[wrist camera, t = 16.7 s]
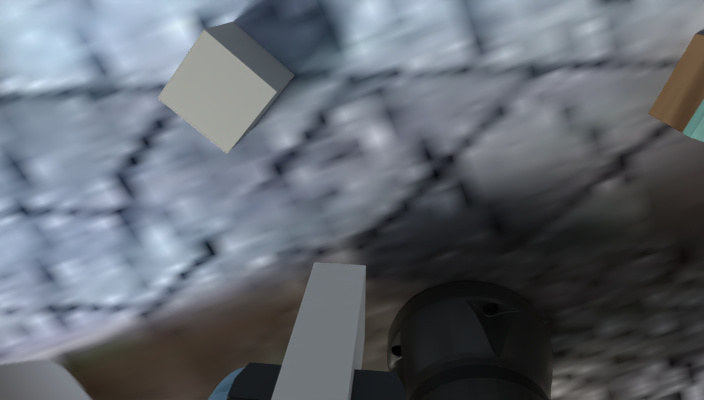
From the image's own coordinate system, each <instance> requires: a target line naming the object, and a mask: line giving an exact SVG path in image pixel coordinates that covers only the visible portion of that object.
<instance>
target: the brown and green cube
mask: <svg viewBox="0 0 704 400" xmlns="http://www.w3.org/2000/svg"><path fill="white" fill-rule="evenodd" d="M648 114H650V115H651V116H653V117H655V118H657V119H659V120H660V121H662V122H664V123H666V124H667V125H669V126H671V127H673V128H675V129H676V130H678V131H680V132H682V133H684V134H685V135H687V136H689V137H691V138H694V139H697V140H700V141H703V142H704V35H699V34H695V35H694V37H693V39H692V41H691V42H690V44H689V46H688V47H687V49H686V51H685V52H684V54H683V56H682V58H681V59H680V61H679V63H678V64H677V66H676V68H675V69H674V71H673V73H672V74H671V76H670V78H669V80H668V81H667V83H666V85H665V86H664V88H663V90H662V91H661V93H660V95H659V97H658V98H657V100H656V102H655V103H654V105H653V107H652V108H651V110H650V112H649V113H648Z"/></svg>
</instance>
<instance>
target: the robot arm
mask: <svg viewBox="0 0 704 400" xmlns="http://www.w3.org/2000/svg"><path fill="white" fill-rule="evenodd" d="M365 285H366V265H351V264H333V263H316V262H314V265H313V268H312V272H311V275H310V278H309V281H308V284H307V287H306V291H305V294H304V297H303V300H302V303H301V306H300V310H299V313H298V316H297V319H296V322H295V325H294V329H293V332H292V335H291V338H290V341H289V345H288V348H287V351H286V354H285V357H284V360H283V364H282V365H275V364H262V363H249V364H248V365H247V366H246V367H243V368H240V369H237V370H235V371H233V372H232V373H230V374H229V375H228V376H227V377H225V378H224V379H223V380H222V381H221V383H220V384H219V385H218V386H217V387H216V389H215V390H214V391H213V393H212V394H211V396H210V397H209V399H208V400H550V397H551V384H552V371H553V350H552V345H551V341H550V338H549V335H548V333H547V330H546V328H545V325H544V323H543V321H542V319H541V317H540V315H539V314H538V312H537V311H536V310H535V309H534V308H533V306H532V305H531V304H530V303H528V302H527V301H526V300H525V299H524V298H522V297H521V296H519V295H518V294H516V293H514V292H512V291H510V290H508V289H506V288H503V287H500V286H497V285H494V284H489V283H484V282H474V281H463V282H453V283H448V284H443V285H440V286H436V287H434V288H431V289H429V290H427V291H424V292H423V293H421V294H419V295H417V296H416V297H414V298H413V299H412V300H410V301H409V302H408V303H407V304H406V305H405V306H404V307H403V308H402V309H401V310H400V311H399V313H398V314H397V315H396V317H395V319H394V321H393V323H392V325H391V328H390V331H389V335H388V347H387V362H388V368H389V372H384V371H371V370H361V366H362V357H363V348H364V338H365Z"/></svg>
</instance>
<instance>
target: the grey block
mask: <svg viewBox="0 0 704 400" xmlns="http://www.w3.org/2000/svg"><path fill="white" fill-rule="evenodd" d="M294 76H295V75H294V74H293V73H292V72H290V71H289V70H288V69H287V68H286V67H285V66H284V65H282V64H281V63H280V62H279V61H278V60H277V59H276V58H274V57H273V56H272V55H271V54H270V53H269V52H268V51H266V50H265V49H264V48H263V47H262V46H261V45H260V44H258V43H257V42H256V41H255V40H254V39H253V38H252V37H250V36H249V35H248V34H247V33H246V32H245V31H243V30H242V29H241V28H240V27H239V26H238V25H237V24H235V23H234V22H230V23H226V24H222V25H219V26H215V27H211V28H208V29H204V30H203V32H202V33H201V35H200V36H199V38H198V39H197V40H196V42H195V43H194V45H193V46H192V48H191V49H190V51H189V52H188V54H187V55H186V57H185V58H184V60H183V61H182V63H181V64H180V65H179V67H178V68H177V70H176V71H175V73H174V74H173V76H172V77H171V79H170V80H169V82H168V83H167V85H166V86H165V88H164V89H163V91H162V92H161V93H160V95H159V96H158V99H159V100H160V101H162V102H163V103H164V104H165V105H167V106H168V107H169V108H170V109H172V110H173V111H174V112H175V113H177V114H178V115H179V116H180V117H182V118H183V119H184V120H185V121H187V122H188V123H189V124H190V125H192V126H193V127H194V128H195V129H197V130H198V131H199V132H200V133H202V134H203V135H204V136H205V137H207V138H208V139H209V140H210V141H212V142H213V143H214V144H215V145H217V146H218V147H219V148H220V149H222V150H223V151H224V152H225V153H227V154H228V153H229V152H230V151H231V150H232V149H233V148H234V147H235V146H236V145H237V144H238V143H239V142H240V141H241V140H242V139H243V138H244V137H245V136H246V135H247V134H248V133H249V132H250V131H251V129H252V128H253V127H254V126H255V125H256V123H257V122H258V121H259V120H260V118H261V117H262V116H263V115H264V113H265V112H266V111H267V110H268V108H269V107H270V106H271V105H272V103H273V102H274V101H275V100H276V98H277V97H278V96H279V95H280V93H281V92H282V91H283V90H284V88H285V87H286V86H287V85H288V83H289V82H290V81H291V80H292V79H293V77H294Z"/></svg>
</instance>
